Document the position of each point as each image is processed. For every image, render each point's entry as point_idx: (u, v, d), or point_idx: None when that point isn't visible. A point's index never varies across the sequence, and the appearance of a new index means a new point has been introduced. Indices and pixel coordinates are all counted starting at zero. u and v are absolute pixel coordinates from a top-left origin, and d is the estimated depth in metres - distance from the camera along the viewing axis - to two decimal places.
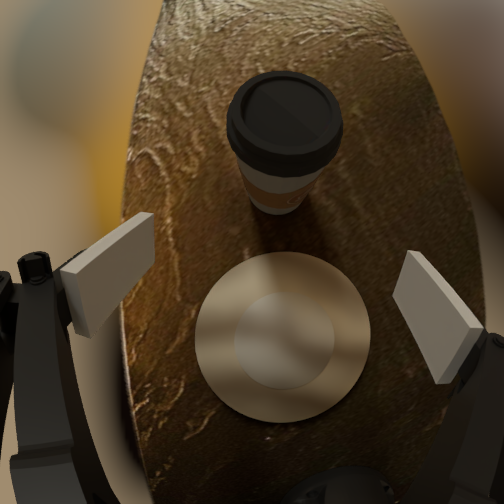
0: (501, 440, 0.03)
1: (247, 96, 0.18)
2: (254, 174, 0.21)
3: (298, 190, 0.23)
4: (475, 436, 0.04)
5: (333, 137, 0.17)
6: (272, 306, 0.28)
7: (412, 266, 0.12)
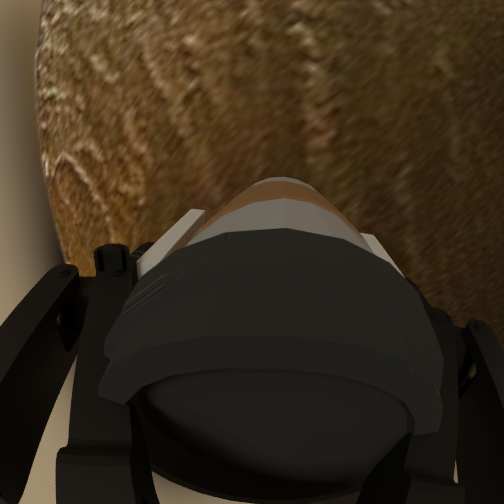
0: (456, 418, 0.04)
1: (136, 396, 0.05)
2: None
3: None
4: None
5: None
6: None
7: None
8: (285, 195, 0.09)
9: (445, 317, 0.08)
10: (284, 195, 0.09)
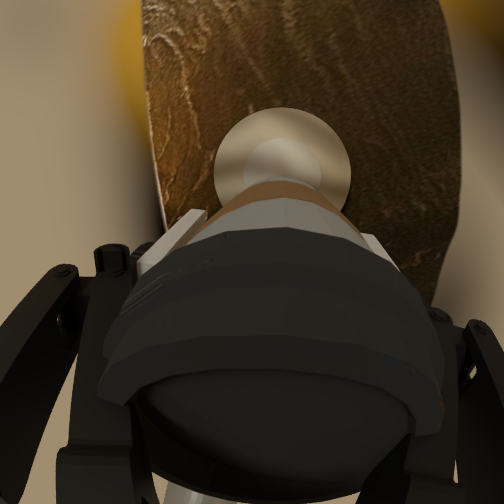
0: (456, 418, 0.04)
1: (135, 396, 0.05)
2: None
3: None
4: None
5: None
6: (272, 149, 0.35)
7: None
8: (285, 194, 0.09)
9: (445, 317, 0.08)
10: (284, 194, 0.09)
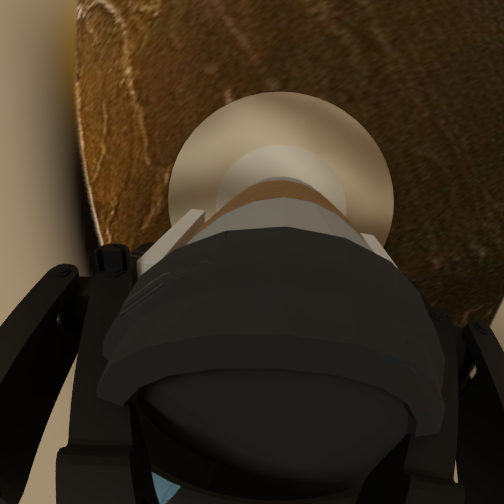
0: (456, 418, 0.04)
1: (135, 396, 0.05)
2: None
3: None
4: None
5: None
6: (263, 164, 0.21)
7: None
8: (285, 194, 0.09)
9: (445, 317, 0.08)
10: (284, 194, 0.09)
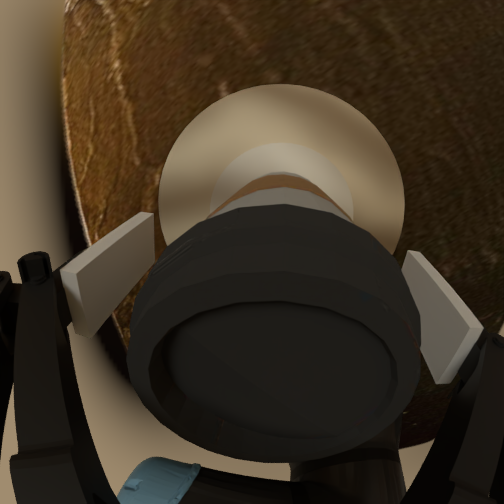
0: (501, 439, 0.03)
1: (162, 345, 0.06)
2: None
3: None
4: (475, 436, 0.04)
5: (365, 439, 0.07)
6: (261, 164, 0.19)
7: (412, 266, 0.12)
8: (285, 184, 0.11)
9: None
10: (284, 184, 0.11)
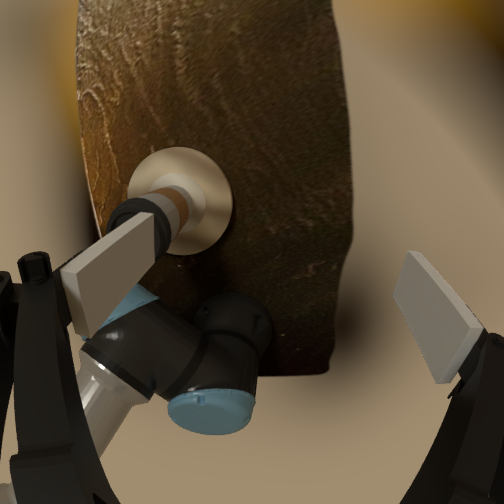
0: (501, 440, 0.03)
1: (113, 225, 0.32)
2: None
3: None
4: (475, 436, 0.04)
5: (156, 255, 0.32)
6: (165, 182, 0.44)
7: (412, 266, 0.12)
8: (152, 192, 0.36)
9: None
10: (152, 192, 0.36)
